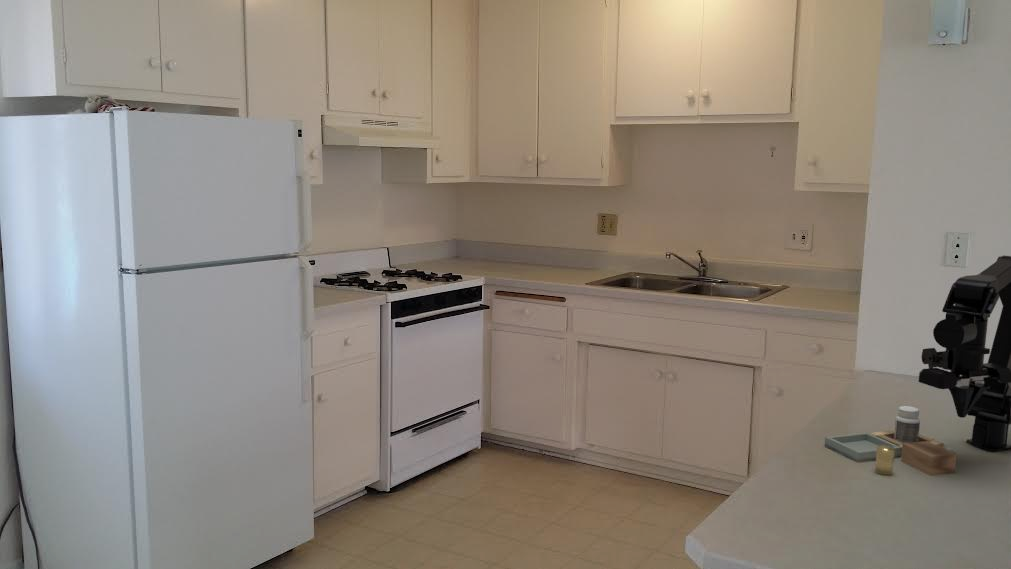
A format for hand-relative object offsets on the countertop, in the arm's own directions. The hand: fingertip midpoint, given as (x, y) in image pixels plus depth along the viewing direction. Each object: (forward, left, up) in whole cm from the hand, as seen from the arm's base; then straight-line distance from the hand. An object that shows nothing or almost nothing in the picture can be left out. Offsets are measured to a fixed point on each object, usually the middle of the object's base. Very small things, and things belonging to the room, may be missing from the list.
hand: (961, 416), depth 172 cm
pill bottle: (+3, -11, -10) cm, 15 cm away
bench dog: (+19, 0, -10) cm, 21 cm away
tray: (+14, -11, -10) cm, 20 cm away
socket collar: (+3, -11, -10) cm, 15 cm away
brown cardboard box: (+8, 0, -10) cm, 12 cm away
